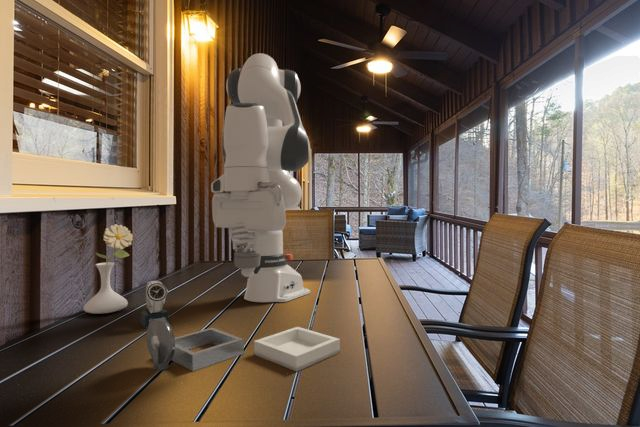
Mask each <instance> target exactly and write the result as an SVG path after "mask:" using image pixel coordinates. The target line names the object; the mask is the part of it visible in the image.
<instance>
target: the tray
mask: <svg viewBox="0 0 640 427" xmlns="http://www.w3.org/2000/svg"><path fill="white" fill-rule="evenodd" d="M340 353H341V339H340V338H338V337H335V336H331V335H327V334H324V333H320V332H317V331H314V330H311V329H307V328H303V327H301V326H295V327H292V328H289V329H286V330H283V331H280V332H277V333H275V334H270V335H268V336H264V337H262V338H259V339H255V340H253V355H254V356H256V357H259V358H261V359H264V360H267V361H270V363H275V364H277V365H279V366H282V367H284V368H287V369H288V370H292V371H295V372H299V371H301V370H303V369H306V368H308V367H310V366H312V365H315V364H318V363H320V362H321V361H325V360H326V359H328V358H331V357H333V356H335V355H338V354H340Z"/></svg>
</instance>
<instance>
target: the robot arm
mask: <svg viewBox="0 0 640 427" xmlns="http://www.w3.org/2000/svg"><path fill="white" fill-rule="evenodd" d="M225 84H226V85H225V86H226V87H225V88H226V89H225V90H226V92H227V96H228V98H229V101H230V102H231V103H230V104H228V105H227V106H226V110H225V113H224V114H225V115H224V124H223V135H222V137H221V140H222V156H223V158H224V160H225V161H224V164H223V174H221V175H220V176H219V177H218V178H217V179H215V180H213V181H212V182H211V184H210V191H211V192H212V193H214V194H213V196H212V200H211V208H212V209H211V211H212V212H211V213H212V222H213V224H214V225H215V227H216V228H222V229H223V228H226V229H228V234H229V237H230V240H231V242H232V249H233V251H242V250H244V249H245V246H242V245H235V244H234V241H237V239H234V238H233V236H234V235H239V234H235V233H233V231H234V230H235V229H240V228H247V229H250V230H251V231H247V232H255V236H256V240H255V242H249V243H248V244H252V252H253V253H261V259H260V266H259V267H256V268H254V274H253V275H252V276H251V277H249V278H247V282H246V288H245V293H244V296H243V299H244V300H246V301H247V302H248V301H249V302H252V303H253V302H254V303H286V302H289V301H292V300H295V299H298V298H301V297H303V296H306V295H309V294H311V290H310V289H309V288H307V287H304V281H303V278H302V275H301V274H300V273H299V272H298V271H297V270H296V269H294V268H293V267H291V266H290V265H289V264H288V261H292V260H293V259H294V257H293V254H291V253H286V254H285V253H284V232H283V230H284V229H285V227H286V226H287V217H286V211H289V210H292V209H295V208H297V207H298V206H299V205H300V203H301V201H302V198H303V190H302V187H301V185H300V182H298V180H297V179H296V178H295V177H293V176H292V174H291V173H290V172H296V173H297V172H298V171H301V169H303V168H304V167H305V166H307V164H308V162H309V159H310V156H311V143H310V140H309V136H308V135H307V132H306V130H305V128H304V126H303V122H302V119H301V115H300V113H299V109H298V106H297V102H298V99H299V97H300V95H301V90H302V89H301V87H302V86H301V82H300V79H299V77H298V74H297V73H296V71H294V70H291V69H287V68H285V69H280V68H279V67H278V65H277V62H276V61H275V59H274V58H273V57H271V56H270V55H269V54H266V53H261V52H259V53H255V54H252V55H251V56H250V57H248V58H247V59H246V61H245V63H244V64H243V66H242V68H240V67H239V68H236V69H232V71H230V72H229V74H228V76H227V79H226V83H225ZM236 223H245V226H242V227H236V228H234V224H236ZM253 230H255V231H253ZM255 236H250V237H251V238H255ZM253 243H254V244H253Z"/></svg>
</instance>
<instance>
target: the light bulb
mask: <svg viewBox="0 0 640 427" xmlns="http://www.w3.org/2000/svg"><path fill="white" fill-rule="evenodd" d="M242 226H245V223H236V224H234V228H236V227H242ZM248 231H251V230H250V229H247V228H240V229H235V230H234V231H233V233H235V234H239V235H234V236H233V238H234V239H237V241H234V244H235V245H242V246H244V249H243V250H239V251H238V250H235V252H233V254H234V255H233V261H234V267H236V268H238V269H240V271H241V275H242V276H243V277H245V278H246V279H248V278H249V277H251V276H252V275H253V274H254V268H256V267H259V266H260V259H261V253H253V252H252V244H248V243H249V242H255V240H256V236H255V232H248ZM253 231H255V230H253ZM250 236H255V238H251V237H250ZM253 244H254V243H253Z"/></svg>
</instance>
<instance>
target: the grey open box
mask: <svg viewBox="0 0 640 427" xmlns="http://www.w3.org/2000/svg"><path fill="white" fill-rule="evenodd" d="M244 340H245V339H244V338H241V337H239V336H236V335H233V334H230V333H228V332H227V331H223V330H220V329H218V328H215V327H209V328H206V329H202V330H199V331H194V332H191V333H187V334H184V335H183V334H182V335H179V336H177V337H175V334H174V331H173V328H172V326H171V324H170V323H169V320H168V321H167V320H166V319H163V318H161V319H157V320H153V321H151V322H150V323H149V325H148V328H146V343H147V344H146V345H147V348H148V353H149V355H150V357H151V359H152V365H153V367H152V368H154V370H156V371H157V372H161V371H165V370H167V369H169V362H170V361H173V362H174V363H176V364H178V365H180V366H182V367H183V368H186V369H188V370H190V371H192V372H195V371H197V370H201V369H203V368H206V367H209V366H212V365H214V364H218V363H221V362H224V361H226V360H229V359H232V358H236V357H238V356H241V355H244V354H245V352H244V350H245V347H244V345H245V344H244V343H245V342H244ZM209 344H212V345H214V346H211V347H208V348H205V349H201V350H198V351H193V349H195V348H200V347H202V346H205V345H209ZM199 346H200V347H199ZM192 348H193V349H192ZM189 349H190V350H189Z"/></svg>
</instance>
